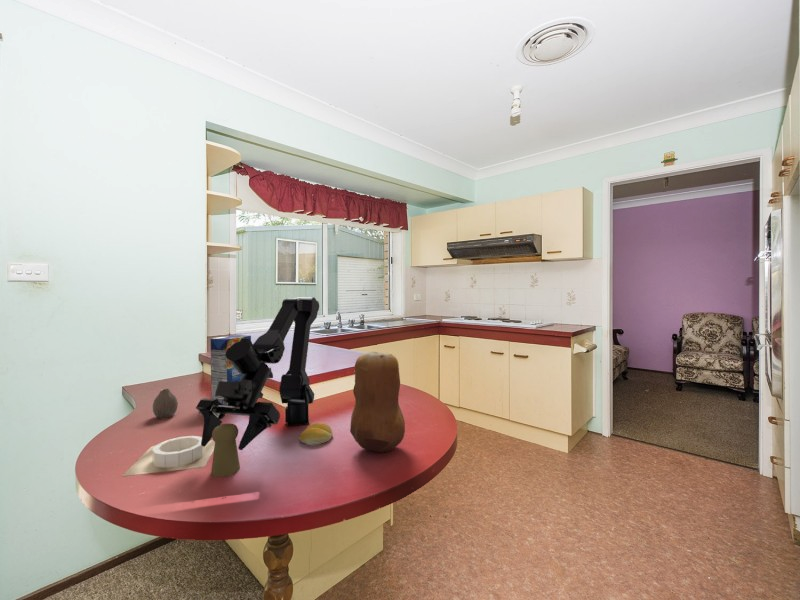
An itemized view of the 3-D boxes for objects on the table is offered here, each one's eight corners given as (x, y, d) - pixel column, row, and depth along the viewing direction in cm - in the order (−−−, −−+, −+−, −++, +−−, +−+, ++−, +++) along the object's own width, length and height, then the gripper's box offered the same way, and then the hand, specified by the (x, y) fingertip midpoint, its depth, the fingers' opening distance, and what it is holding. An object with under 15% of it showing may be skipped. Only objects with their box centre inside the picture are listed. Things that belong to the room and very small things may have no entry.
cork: (228, 483, 77) (228, 431, 77) (203, 480, 78) (203, 429, 78) (246, 469, 83) (245, 421, 82) (223, 467, 84) (222, 419, 84)
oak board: (220, 443, 97) (220, 439, 97) (204, 471, 82) (204, 466, 82) (151, 449, 93) (151, 446, 93) (121, 480, 78) (121, 476, 78)
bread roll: (295, 445, 96) (295, 430, 96) (309, 432, 105) (309, 419, 105) (324, 447, 95) (324, 432, 95) (336, 434, 104) (336, 420, 104)
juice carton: (236, 396, 142) (235, 334, 141) (251, 398, 139) (251, 335, 139) (211, 405, 131) (210, 338, 130) (227, 407, 128) (226, 339, 128)
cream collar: (209, 445, 93) (208, 434, 93) (197, 464, 83) (197, 451, 83) (163, 450, 91) (162, 438, 91) (145, 470, 81) (145, 456, 80)
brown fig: (147, 418, 117) (147, 391, 117) (168, 412, 123) (168, 386, 123) (162, 421, 114) (161, 393, 114) (182, 414, 121) (182, 388, 121)
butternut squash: (400, 437, 101) (399, 347, 100) (409, 458, 88) (409, 355, 87) (349, 440, 99) (348, 348, 98) (351, 463, 85) (350, 357, 85)
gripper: (201, 364, 86) (162, 427, 75) (272, 367, 82) (242, 434, 71) (224, 389, 94) (192, 449, 83) (290, 392, 90) (265, 457, 79)
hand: (221, 447), depth 79 cm, fingers open, 9 cm apart
